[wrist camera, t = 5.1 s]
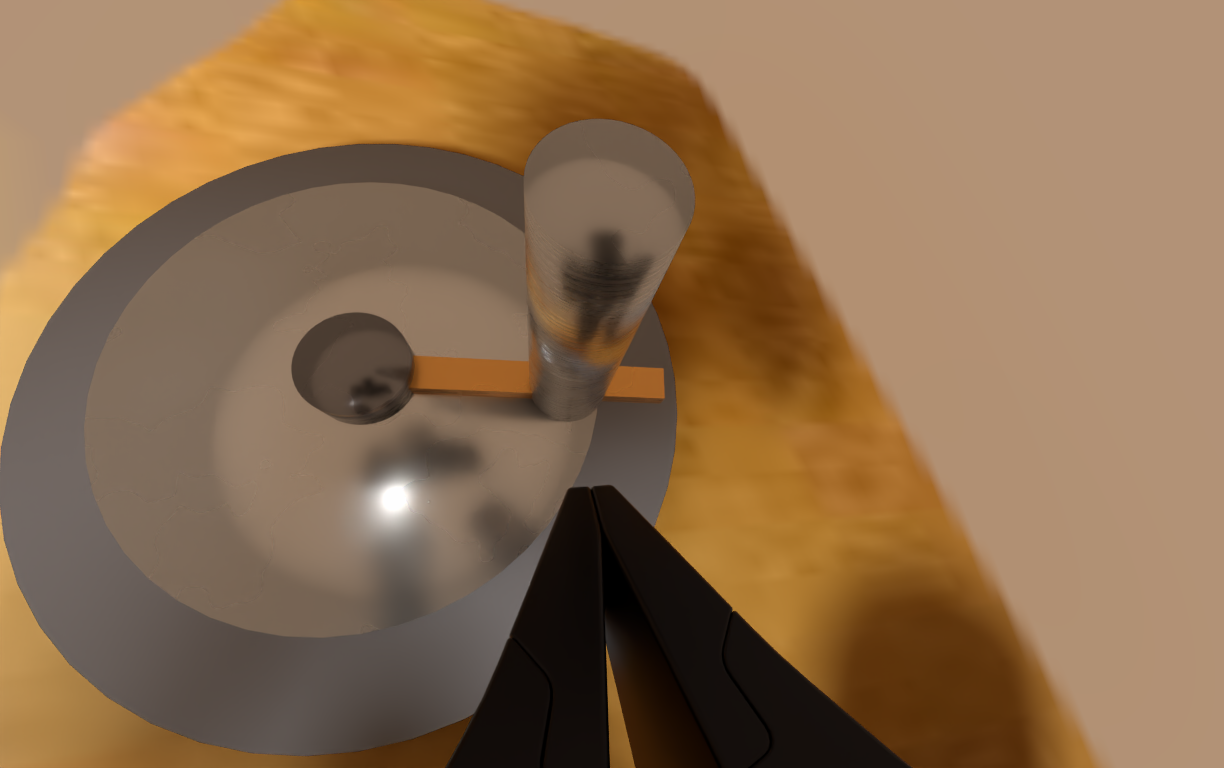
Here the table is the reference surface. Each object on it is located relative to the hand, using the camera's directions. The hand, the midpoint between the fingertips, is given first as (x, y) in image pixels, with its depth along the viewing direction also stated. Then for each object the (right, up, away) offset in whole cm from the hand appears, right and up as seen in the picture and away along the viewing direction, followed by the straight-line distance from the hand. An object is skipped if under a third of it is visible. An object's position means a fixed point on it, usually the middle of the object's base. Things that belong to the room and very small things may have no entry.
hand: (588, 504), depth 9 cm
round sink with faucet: (-6, +2, +7) cm, 9 cm away
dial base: (-7, +2, +8) cm, 11 cm away
